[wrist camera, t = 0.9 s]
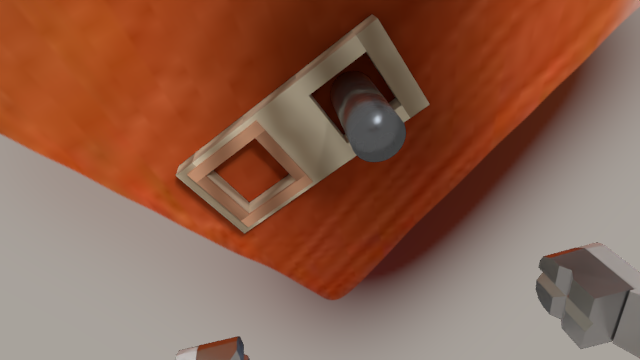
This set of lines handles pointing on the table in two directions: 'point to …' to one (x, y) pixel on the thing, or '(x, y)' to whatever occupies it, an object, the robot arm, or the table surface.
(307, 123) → the beige flat frame
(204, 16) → the table surface
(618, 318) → the robot arm
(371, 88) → the steel peg
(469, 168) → the table surface
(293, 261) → the table surface
